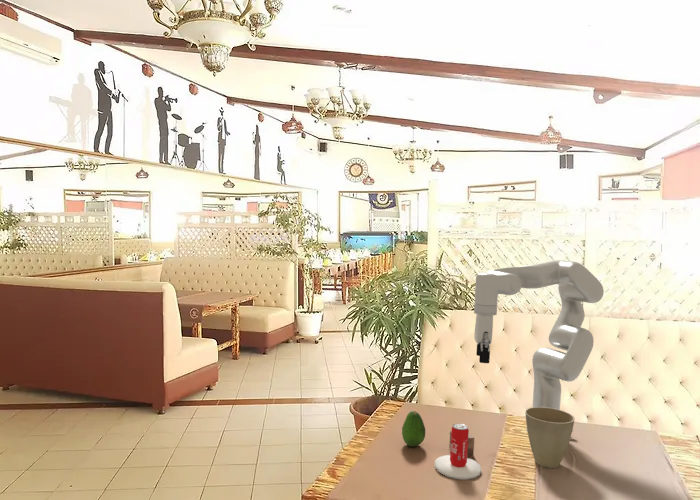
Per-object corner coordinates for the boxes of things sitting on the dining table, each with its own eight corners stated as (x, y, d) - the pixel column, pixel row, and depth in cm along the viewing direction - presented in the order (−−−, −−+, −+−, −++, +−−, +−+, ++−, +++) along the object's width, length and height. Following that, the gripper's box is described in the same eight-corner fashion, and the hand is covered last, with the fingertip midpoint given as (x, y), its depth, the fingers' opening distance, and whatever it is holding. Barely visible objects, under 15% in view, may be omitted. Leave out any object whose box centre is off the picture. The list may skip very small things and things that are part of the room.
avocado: (398, 447, 179) (400, 412, 178) (405, 439, 186) (406, 405, 185) (421, 452, 176) (423, 417, 175) (427, 443, 183) (429, 409, 182)
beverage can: (466, 469, 163) (469, 430, 162) (449, 466, 163) (451, 428, 163) (466, 461, 168) (468, 424, 167) (449, 459, 169) (451, 422, 168)
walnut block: (465, 447, 181) (466, 430, 181) (473, 455, 175) (474, 437, 175) (449, 448, 180) (450, 431, 180) (456, 456, 174) (457, 438, 174)
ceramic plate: (478, 461, 171) (478, 457, 171) (483, 481, 157) (483, 477, 157) (434, 456, 173) (434, 453, 173) (435, 476, 159) (435, 472, 159)
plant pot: (569, 457, 177) (573, 410, 176) (573, 477, 163) (576, 426, 162) (522, 449, 182) (525, 403, 181) (521, 468, 168) (524, 418, 167)
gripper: (471, 305, 190) (469, 352, 190) (476, 312, 172) (473, 364, 173) (493, 306, 189) (490, 354, 189) (500, 314, 171) (497, 366, 172)
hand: (482, 359), depth 181 cm, fingers open, 9 cm apart
